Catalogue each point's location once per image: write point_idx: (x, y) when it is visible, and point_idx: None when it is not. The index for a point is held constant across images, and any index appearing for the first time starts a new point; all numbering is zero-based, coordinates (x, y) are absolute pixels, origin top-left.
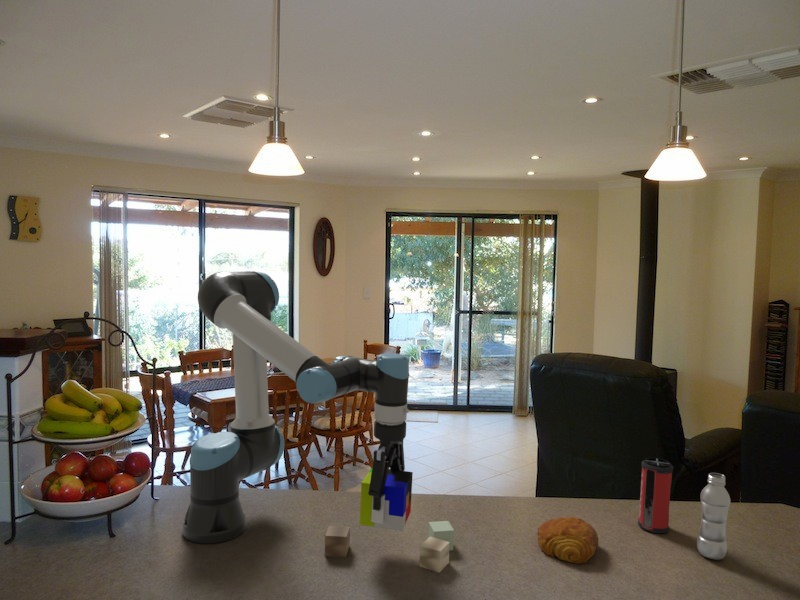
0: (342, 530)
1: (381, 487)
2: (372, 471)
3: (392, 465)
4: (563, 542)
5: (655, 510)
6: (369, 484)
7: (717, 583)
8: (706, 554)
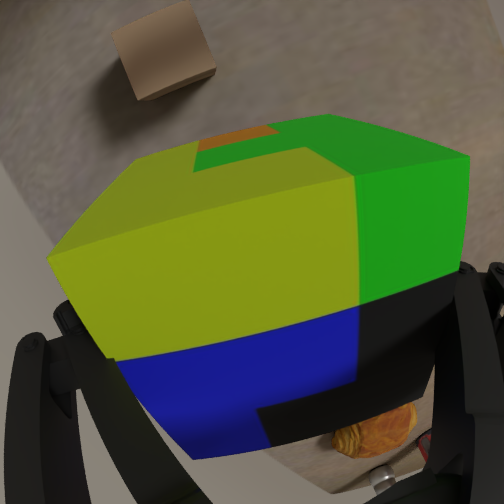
0: (175, 59)
1: (76, 420)
2: (7, 475)
3: (450, 353)
4: (349, 444)
5: (426, 458)
6: (84, 319)
7: (332, 481)
8: (371, 474)
